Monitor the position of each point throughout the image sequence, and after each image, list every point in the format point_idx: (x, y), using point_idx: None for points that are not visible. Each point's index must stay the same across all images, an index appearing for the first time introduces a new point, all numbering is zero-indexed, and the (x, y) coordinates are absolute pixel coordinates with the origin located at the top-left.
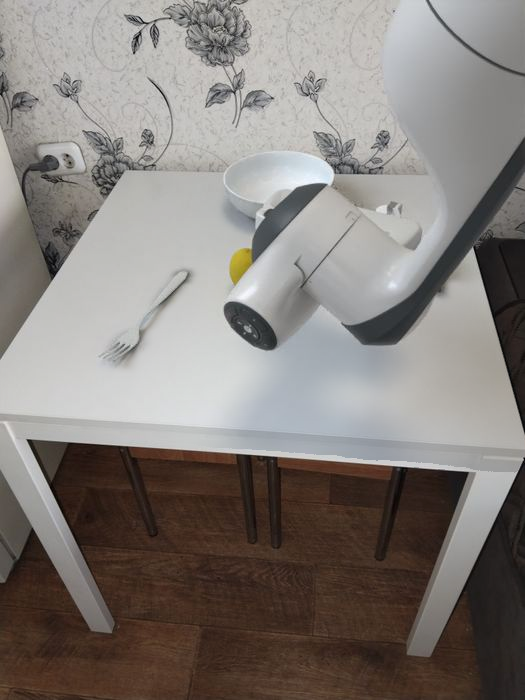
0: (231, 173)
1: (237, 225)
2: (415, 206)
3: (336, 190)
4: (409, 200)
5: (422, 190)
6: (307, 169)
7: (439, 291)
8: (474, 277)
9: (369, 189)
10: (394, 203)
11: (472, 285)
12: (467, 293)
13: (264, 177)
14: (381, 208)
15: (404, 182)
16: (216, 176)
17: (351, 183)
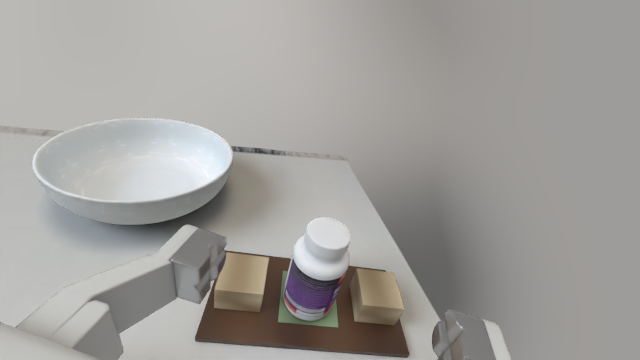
0: (68, 141)
1: (62, 226)
2: (327, 194)
3: (225, 244)
4: (319, 186)
5: (328, 175)
6: (198, 144)
7: (406, 356)
8: (433, 311)
9: (274, 171)
10: (476, 329)
11: None
12: None
13: (137, 150)
14: (316, 225)
15: (309, 165)
16: None
17: (253, 163)
